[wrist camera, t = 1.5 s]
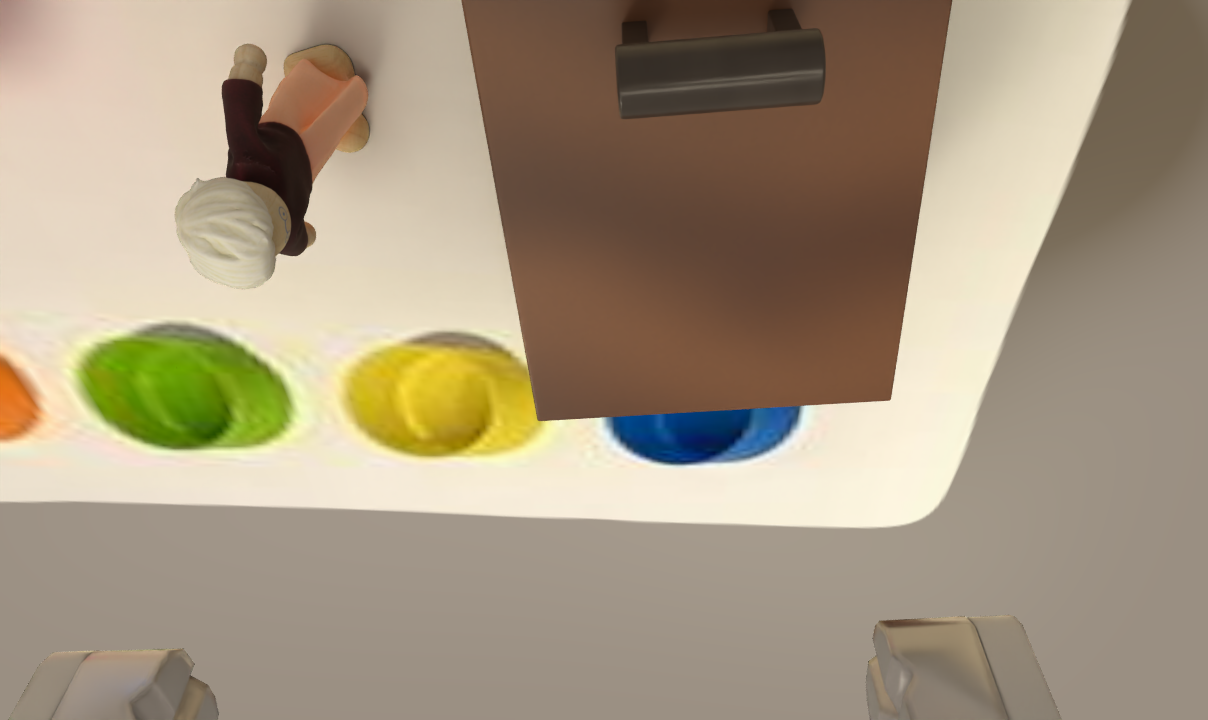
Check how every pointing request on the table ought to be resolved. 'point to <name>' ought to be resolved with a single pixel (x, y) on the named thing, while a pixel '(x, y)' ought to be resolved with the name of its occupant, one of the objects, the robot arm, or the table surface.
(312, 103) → the grandmother figurine
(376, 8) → the table surface
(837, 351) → the chest lid
